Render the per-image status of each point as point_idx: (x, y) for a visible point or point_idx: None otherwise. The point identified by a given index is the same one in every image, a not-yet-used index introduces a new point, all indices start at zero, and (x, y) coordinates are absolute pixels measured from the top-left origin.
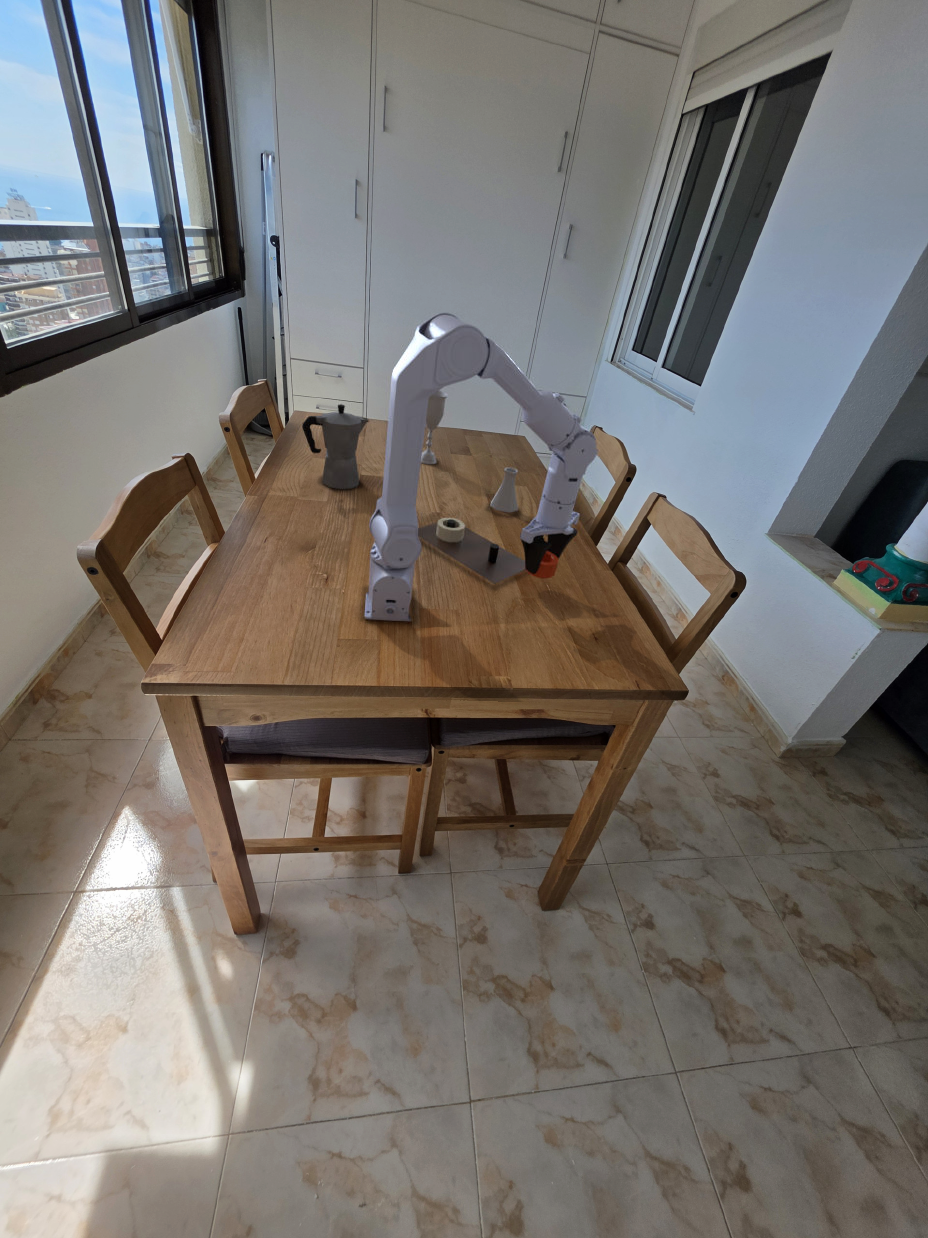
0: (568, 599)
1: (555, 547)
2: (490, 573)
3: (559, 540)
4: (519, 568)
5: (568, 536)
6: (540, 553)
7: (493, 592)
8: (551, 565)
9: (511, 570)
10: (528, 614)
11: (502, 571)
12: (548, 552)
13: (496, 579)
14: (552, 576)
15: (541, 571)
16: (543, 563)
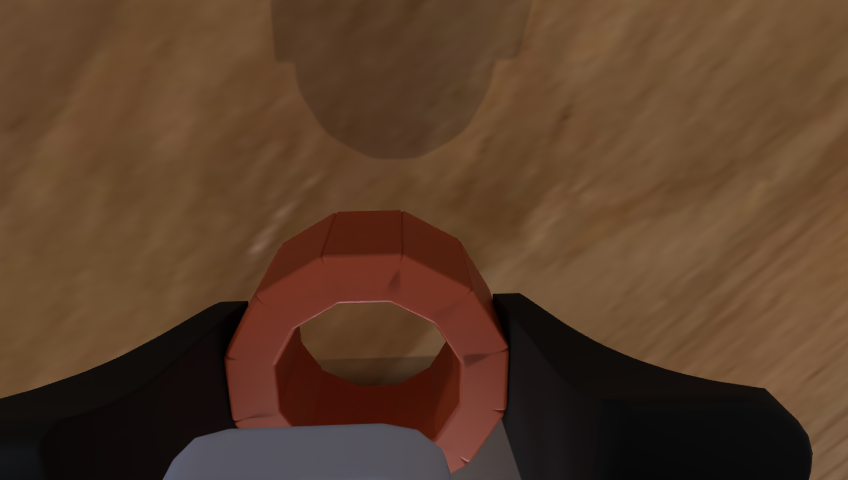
0: (254, 69)
1: (197, 417)
2: (502, 475)
3: (159, 461)
4: None
5: (84, 444)
6: (687, 376)
7: None
8: (418, 257)
9: None
10: (616, 114)
11: None
12: (254, 410)
13: None
14: (360, 211)
15: (473, 275)
16: (464, 315)
